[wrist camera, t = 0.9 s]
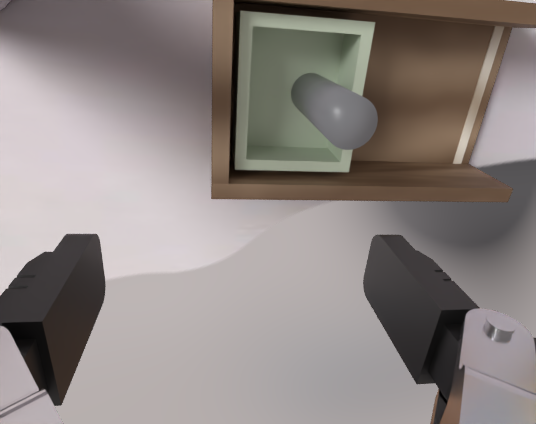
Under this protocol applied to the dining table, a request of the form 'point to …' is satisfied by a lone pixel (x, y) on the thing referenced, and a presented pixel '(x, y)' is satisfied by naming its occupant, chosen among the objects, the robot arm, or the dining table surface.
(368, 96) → the bay
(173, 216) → the dining table surface
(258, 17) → the box
